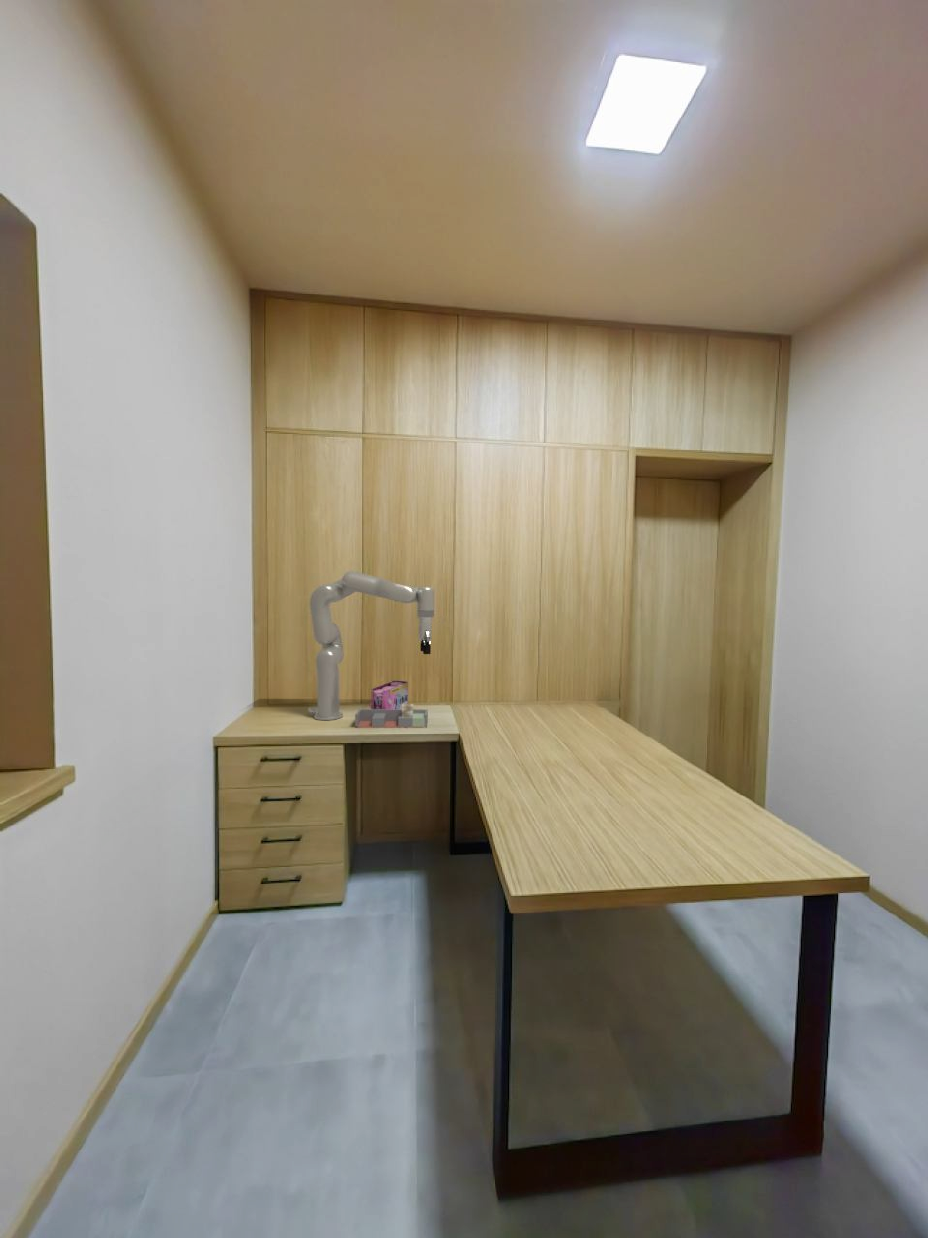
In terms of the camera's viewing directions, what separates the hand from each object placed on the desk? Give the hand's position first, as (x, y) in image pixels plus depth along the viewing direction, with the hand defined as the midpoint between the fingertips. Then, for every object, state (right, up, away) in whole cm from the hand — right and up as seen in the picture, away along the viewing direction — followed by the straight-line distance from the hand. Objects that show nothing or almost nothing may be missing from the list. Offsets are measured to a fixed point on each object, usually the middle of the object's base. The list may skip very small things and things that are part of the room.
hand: (425, 652), depth 219 cm
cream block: (-7, -26, -9) cm, 29 cm away
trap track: (-13, -30, -9) cm, 34 cm away
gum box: (-17, -29, +9) cm, 35 cm away
